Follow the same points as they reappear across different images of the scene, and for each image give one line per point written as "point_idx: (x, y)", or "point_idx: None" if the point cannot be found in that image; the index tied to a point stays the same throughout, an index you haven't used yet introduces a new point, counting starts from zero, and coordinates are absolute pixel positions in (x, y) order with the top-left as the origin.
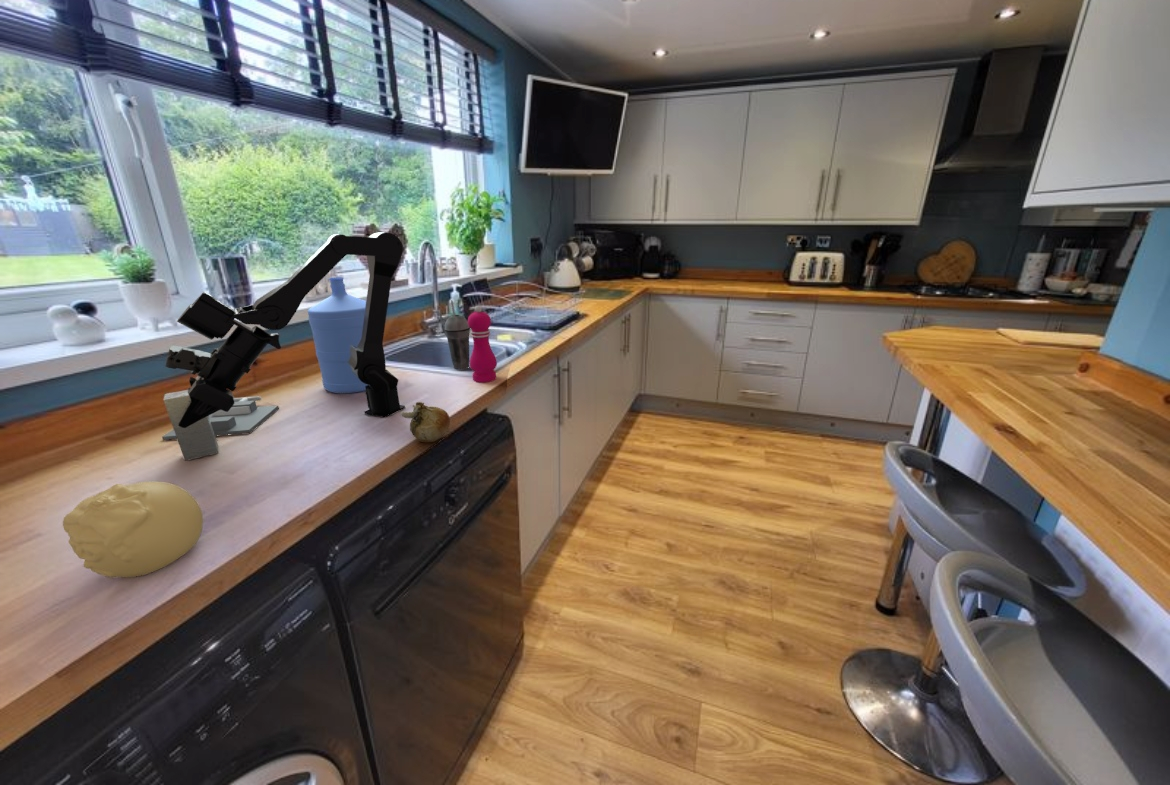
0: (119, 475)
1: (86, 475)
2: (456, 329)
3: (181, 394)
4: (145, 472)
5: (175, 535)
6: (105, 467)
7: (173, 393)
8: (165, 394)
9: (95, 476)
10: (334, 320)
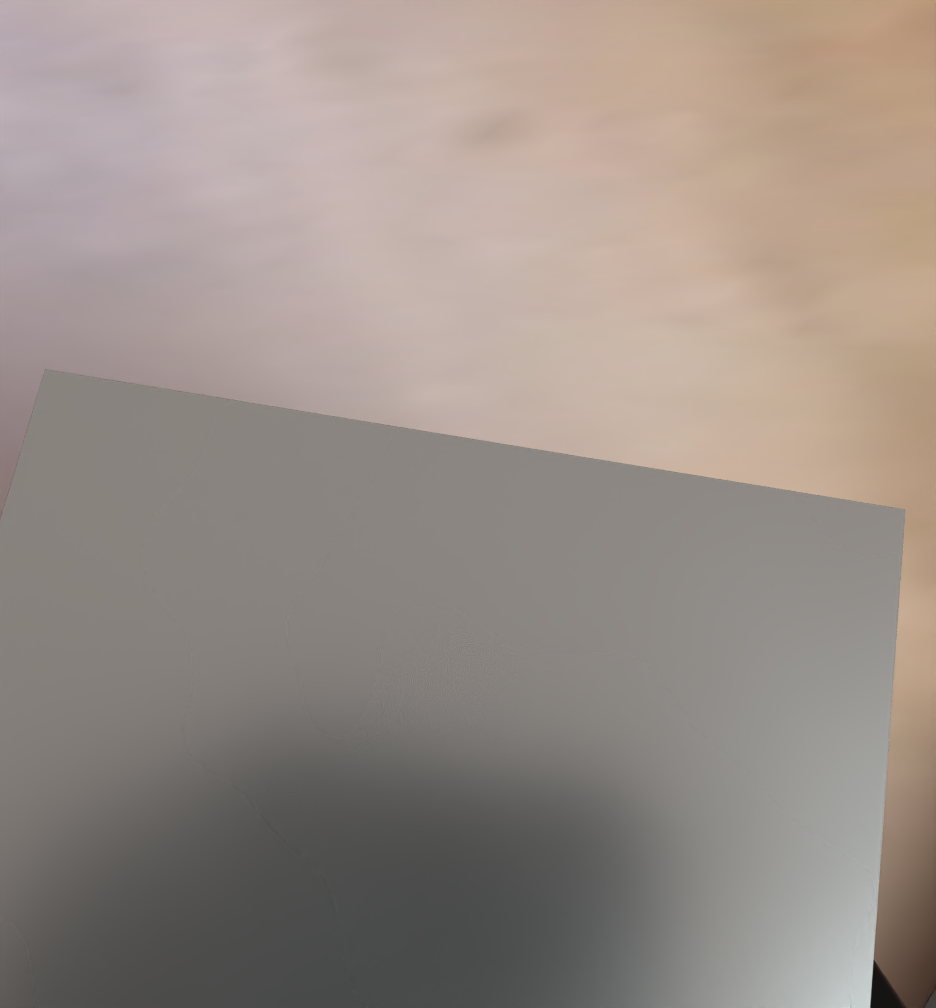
0: (497, 183)
1: (709, 13)
2: None
3: (228, 988)
4: (391, 334)
5: None
6: (788, 116)
7: (684, 761)
8: (784, 512)
9: (629, 57)
10: None
